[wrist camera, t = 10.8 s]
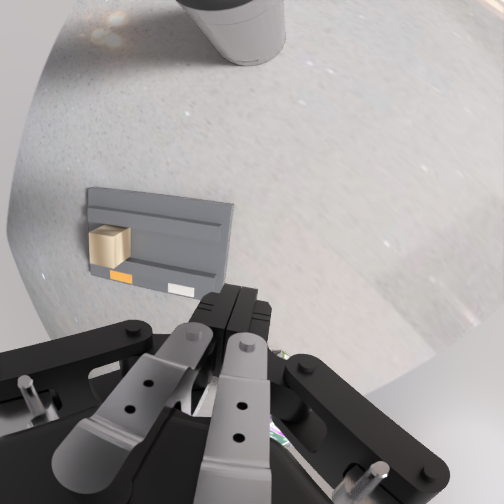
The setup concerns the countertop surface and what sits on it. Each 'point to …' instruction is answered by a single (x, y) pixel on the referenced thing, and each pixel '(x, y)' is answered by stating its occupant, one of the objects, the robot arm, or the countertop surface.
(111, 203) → the grey rail board
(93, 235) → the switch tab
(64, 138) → the countertop surface
